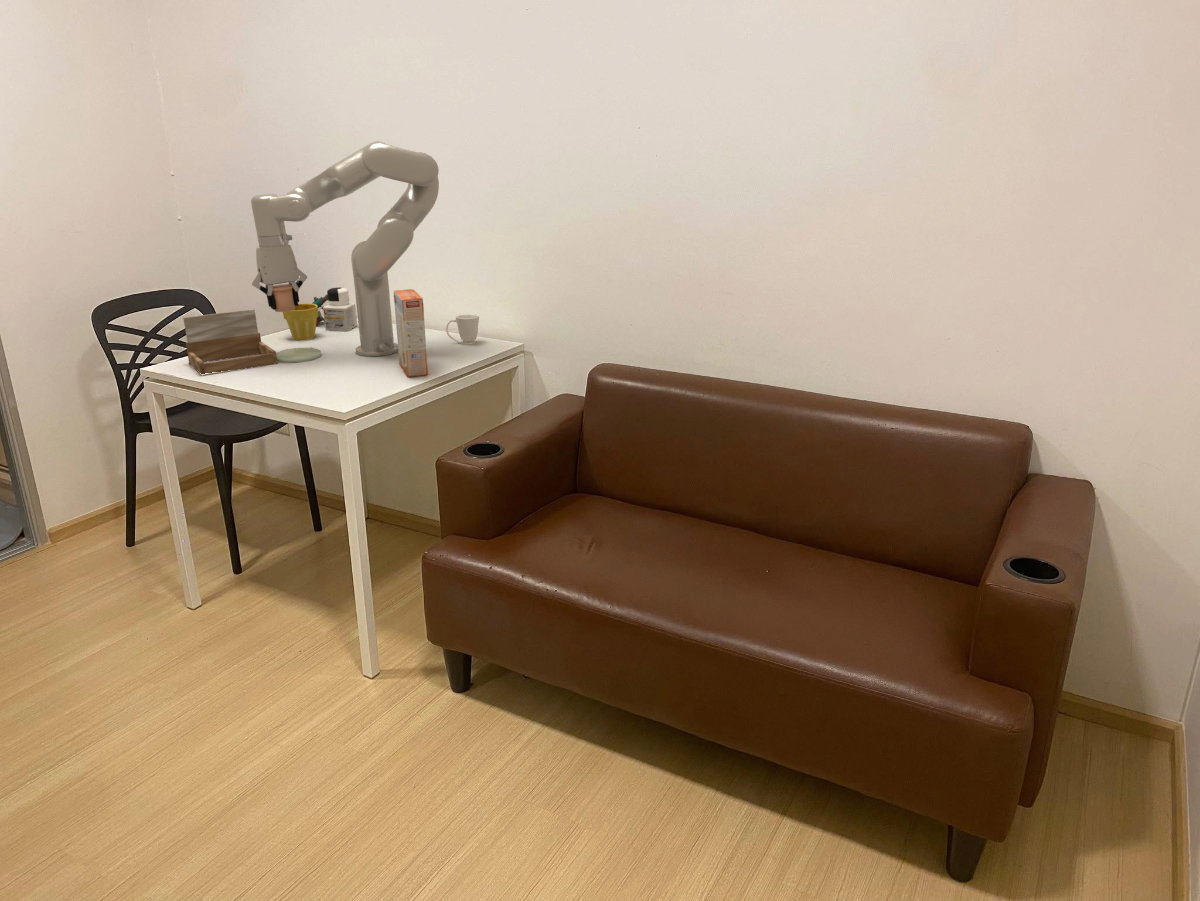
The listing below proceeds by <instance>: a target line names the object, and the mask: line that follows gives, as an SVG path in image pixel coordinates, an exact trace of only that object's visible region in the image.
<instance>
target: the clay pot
mask: <svg viewBox="0 0 1200 901" xmlns="http://www.w3.org/2000/svg"><path fill="white" fill-rule="evenodd" d="M272 289H273V290H272V294H273V295H274V297H275V302H276V308H277V309H276V310H274V312H277V313H283V312H286V311H291V310H294V309H295V304H294V298H293V292H292V289H293V286H292V285H291V284H289V283H281V284H274V285H273V288H272Z"/></svg>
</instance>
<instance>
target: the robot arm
mask: <svg viewBox="0 0 1200 901" xmlns="http://www.w3.org/2000/svg"><path fill="white" fill-rule="evenodd" d="M439 171H440V170H439V166H438V163H437V161H436V160H435V159H434V157H433V156H431V155H429V154H428V153H427V152H426V153H425V152H421V151H420V152H419V151H415V150H414V151H413V150H410V149H405V148H402V147H398V146H395V145H391V144H388V143H385V142H383V141H377V140H376V141H373V142H370V143H368V144H367V145H365V146H363V147H361V148H360V149H359V150H357V151H355V152H353V153H352V154H350V155H347V156H345V158H342V159H341V160H339V161H337V162H336V163H334V164H333V165H331V166H329V167H327V168H326V169H325V170H324V171H322V172H321V173H319V174H317V175H316V176H314V177H312V178H311V179H309V180H308V181H305V182H304V183H302V184H300V185H299V186H297V187H295V188H293V189H292V190H290V191H289V192H287V193H286V194H283V195H277V194H273V193H269V194H268V193H267V194H266V193H265V194H259V195H254V196H252V198H251V200H250V203H251V204H250V205H251V209H252V215H253V219H254V220H253V221H254V225H255V232H256V235H257V236H256V237H257V242H258V247H256V250H255V252H256V253H255V254H256V255H255V256H256V257H255V258H256V267H257V269H256V270H257V275H256V276H255V277H254V280H253V281H252V282H251V286H253V287H254V288H256V289H257V290H259V291H260V292H262V293H263V294H265V295H266V298H267V299H266V300H267V303H268V307H270V309H272V310H274V311H275V310H276V309H277V308H276V302H275V297H274V295H273V294H272V290H273V289H272V288H273V286H274V285H280V284H291V285H292V286H293V289H292V292H293V298H294V304H295V306H298V304H299V302H300V297H299V290H300V289H301V287H302V286H303V283H305V281H307V279H308V275H306V274H305V273H304V272H303V271H302V270H300V269H299V268H298V264H297V259H296V257H295V254H294V251H293V247H292V246H291V244H289V242H290V241H293V235H292V234H288V233H287V231H286V230H287V229H286V225H285V222H292V223H293V222H294V223H295V222H296V223H297V222H302V221H305V220H306V219H307V218H308V217H310V214H311V213H313V212H315V211H316V210H318V209H319V208H321V207H323V206H324V205H326V204H328V203H330V202H332V201H334V200H336V199H339V198H343V197H346V196H349V195H351V194H352V193H354V192H356V191H358V190H360V189H361V188H363V187H365V186H366V185H368V184H370V183H371V182H373V181H375V180H377V179H378V178H380V177H381V178H382V177H383V178H386V179H389V180H393V181H398V182H400V183H401V182H402V183H406V184H408V185H407V188H406V190H405V191H404V192H403V193H402V194H401V196H400V197H399V199H398V200H397V201H396V203H394V205H393V206H391V208H390V209H389V210H388V211H387V212H386V213H385V214H384V215H383V216H382V217H381V218H380V219H379V221H378V222H377V227H376V229H375V230H374V231H373V232H372V233H371V234H370V236H369V237H368V238H367V239H366V240H364V241H360V242H359V243H357V245H355V246H354V247H353V250H352V252H351V258H350V259H351V268H352V275H353V284H354V295H355V306H356V316H357V325H358V330H359V331H358V332H359V339H360V340H359V341H360V345H358V346H356V348H355V353H356V354H357V355H360V356H365V357H381V356H382V357H383V356H388V355H392V354H396V353H397V352H398V343H395V340H394V330H393V318H392V307H391V305H392V304H391V298H390V297H391V295H390V294H391V293H390V284H389V282H390V281H389V274H388V272H389V271H390V269H391V268H393V266H394V265H396V262H398V260H399V259H400V258H401V257H402V256H403V254H404V253H405V252H406V251H407V250H408V248H409V247H410V246H411V244H412V242H413V240H414V232H415V230H417V228H418V227H419V225H421V223H422V222H423V221H424V219H425V218H426V217H427V216H428V214H429V213H430V212H431V211H432V209H433V207H434V206H435V204H436V201H437V199H438V195H439V190H440V188H439V187H440V186H439V184H440V182H439ZM260 283H261V284H260ZM262 284H264V285H265V287H264V286H263V285H262Z"/></svg>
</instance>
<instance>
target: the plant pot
mask: <svg viewBox="0 0 1200 901" xmlns="http://www.w3.org/2000/svg"><path fill="white" fill-rule="evenodd" d="M318 309H319V308H318V306H317V305H316V304H312V303H310V302H309V303H308V302H305V303H304V302H302V303H298V306H295V309H294V310H291V311H286V312H282V315H283V319H284V320H285V321H286V324H287V325H288V329H289V330H290V334H291V337H292V339H293V340H297V341H301V340H302V341H304V340H310V339H314V338H315V337H316V328H317V326H316V321H317V317H318V316H319V314H318V311H319V310H318Z"/></svg>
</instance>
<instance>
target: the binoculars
mask: <svg viewBox="0 0 1200 901" xmlns="http://www.w3.org/2000/svg"><path fill="white" fill-rule="evenodd" d="M326 302H328V296H327V294H325V295H324V296H323V297H322V296H320V297H317V296H313V301H312V303H311V304H316V305H317V306H318V314H319V316H318V317H317V321H316V327H318V325H320V324H321V323H322V321H323V322H324V323H325V320H324V316H322V313H321V309H322V310H323V307H324V306H325V305H324V304H325V303H326Z"/></svg>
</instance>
